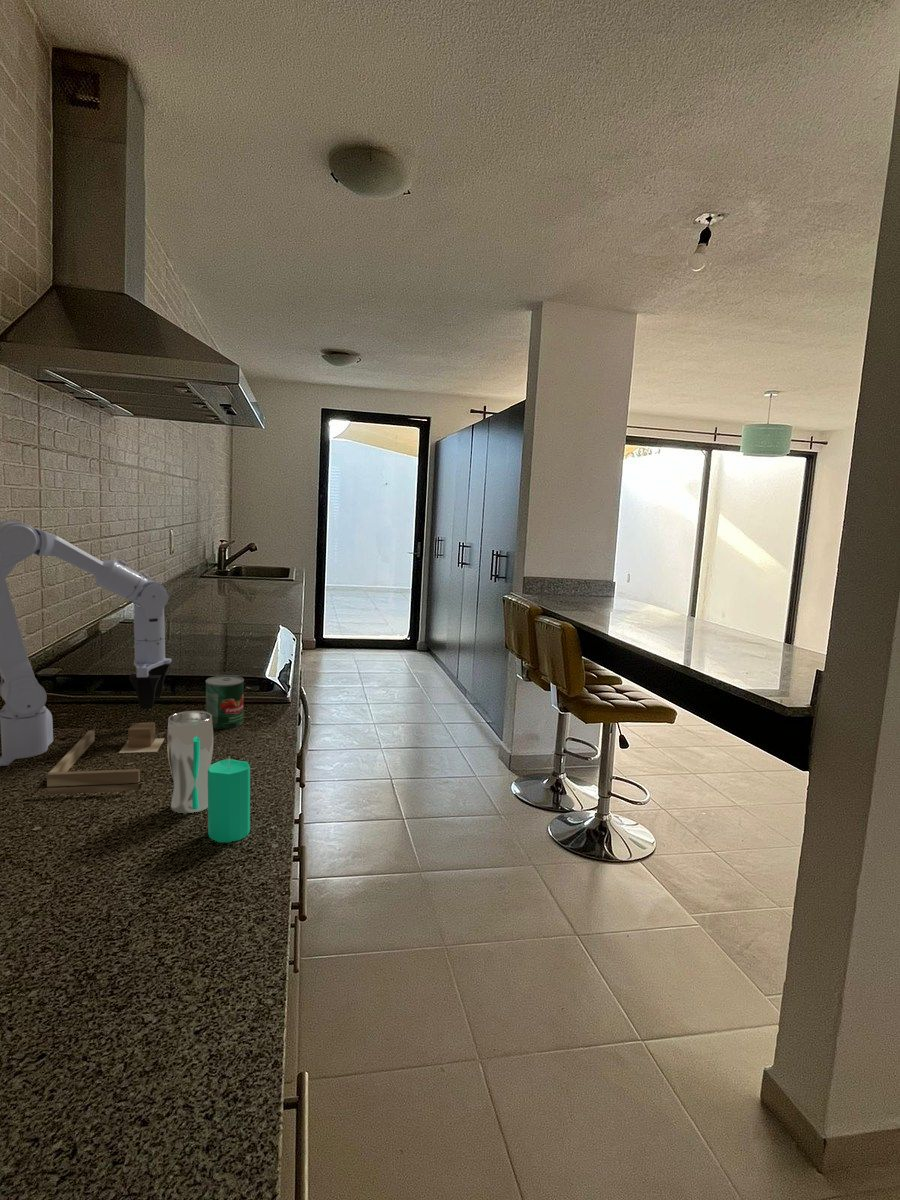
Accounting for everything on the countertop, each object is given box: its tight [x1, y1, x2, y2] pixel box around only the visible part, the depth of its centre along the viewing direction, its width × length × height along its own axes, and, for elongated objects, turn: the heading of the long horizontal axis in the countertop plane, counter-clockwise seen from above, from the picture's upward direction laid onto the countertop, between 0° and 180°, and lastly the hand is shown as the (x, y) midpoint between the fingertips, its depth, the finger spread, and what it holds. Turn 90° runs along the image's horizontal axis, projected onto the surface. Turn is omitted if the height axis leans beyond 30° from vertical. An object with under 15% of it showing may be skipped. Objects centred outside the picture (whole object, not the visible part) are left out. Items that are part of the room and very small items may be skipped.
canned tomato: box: [205, 675, 245, 730], centre depth 144 cm, size 8×8×11 cm
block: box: [127, 722, 156, 747], centre depth 130 cm, size 4×4×4 cm
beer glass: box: [166, 710, 214, 815], centre depth 106 cm, size 7×7×15 cm
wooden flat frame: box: [46, 729, 166, 795], centre depth 121 cm, size 22×14×3 cm, turn 12°
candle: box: [207, 756, 251, 843], centre depth 98 cm, size 6×6×12 cm
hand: (151, 702), depth 137 cm, fingers open, 7 cm apart
